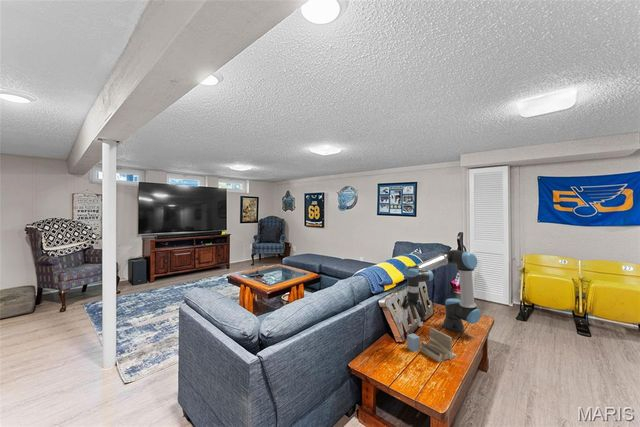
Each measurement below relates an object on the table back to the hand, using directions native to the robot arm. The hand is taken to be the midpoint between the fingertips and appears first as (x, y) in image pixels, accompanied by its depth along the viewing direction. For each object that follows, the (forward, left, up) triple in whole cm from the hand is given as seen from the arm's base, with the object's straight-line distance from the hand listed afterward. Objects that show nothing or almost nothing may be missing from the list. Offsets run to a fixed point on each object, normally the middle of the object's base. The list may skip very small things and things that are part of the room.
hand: (413, 321), depth 178 cm
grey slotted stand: (-10, +12, -19) cm, 25 cm away
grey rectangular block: (0, 0, -19) cm, 19 cm away
